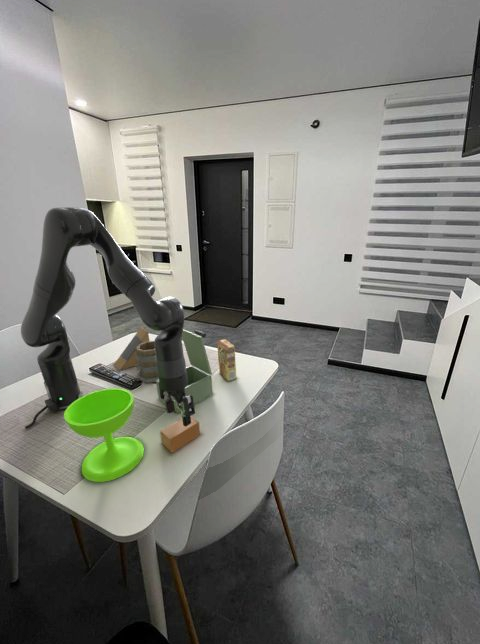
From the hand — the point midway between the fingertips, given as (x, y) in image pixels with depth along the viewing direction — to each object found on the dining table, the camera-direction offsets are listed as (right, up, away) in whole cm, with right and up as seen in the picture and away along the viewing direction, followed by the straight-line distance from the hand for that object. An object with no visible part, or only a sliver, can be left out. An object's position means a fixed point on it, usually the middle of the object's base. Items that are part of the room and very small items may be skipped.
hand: (179, 418), depth 85 cm
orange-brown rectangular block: (0, -7, +3) cm, 8 cm away
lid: (0, +18, +22) cm, 28 cm away
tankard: (-20, +8, +42) cm, 47 cm away
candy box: (+10, +7, +38) cm, 40 cm away
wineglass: (-17, -10, -4) cm, 21 cm away
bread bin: (-4, +1, +24) cm, 24 cm away
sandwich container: (-36, +12, +50) cm, 63 cm away
